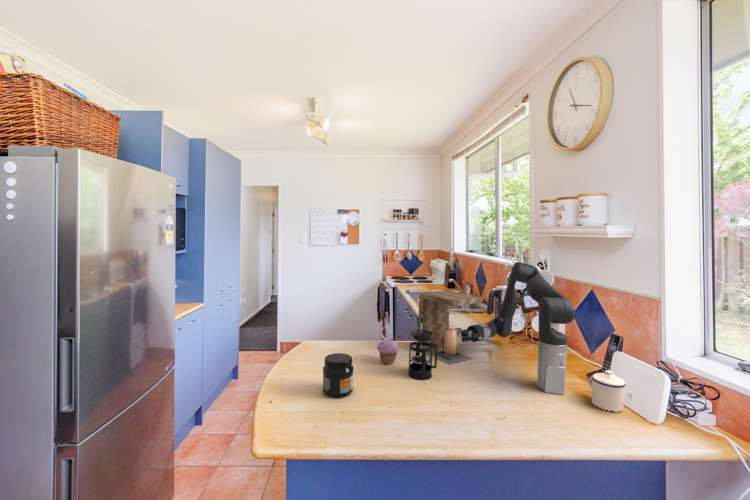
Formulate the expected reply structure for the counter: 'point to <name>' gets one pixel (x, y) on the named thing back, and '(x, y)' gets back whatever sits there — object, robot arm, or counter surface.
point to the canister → (450, 342)
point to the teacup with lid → (607, 391)
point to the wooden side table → (440, 312)
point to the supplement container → (338, 375)
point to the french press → (421, 362)
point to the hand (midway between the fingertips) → (455, 337)
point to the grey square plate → (450, 360)
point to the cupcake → (387, 351)
